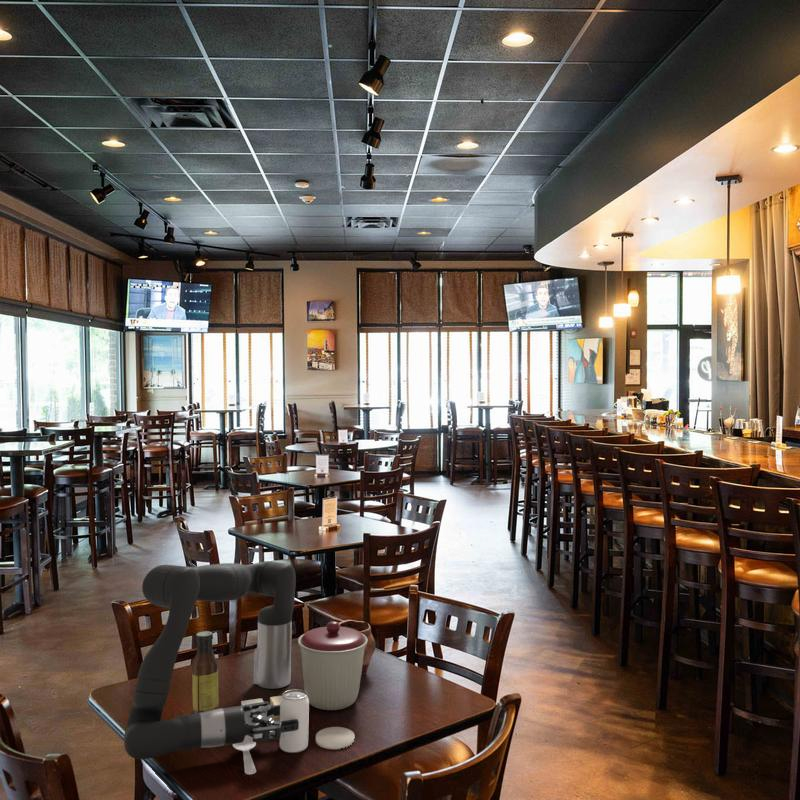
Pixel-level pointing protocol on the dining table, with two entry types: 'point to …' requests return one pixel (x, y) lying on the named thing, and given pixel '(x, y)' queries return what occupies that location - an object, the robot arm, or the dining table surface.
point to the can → (295, 708)
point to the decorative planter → (366, 630)
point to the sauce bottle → (204, 675)
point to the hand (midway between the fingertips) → (293, 716)
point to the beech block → (275, 701)
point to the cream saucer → (335, 738)
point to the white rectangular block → (250, 702)
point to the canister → (332, 665)
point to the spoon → (247, 753)
